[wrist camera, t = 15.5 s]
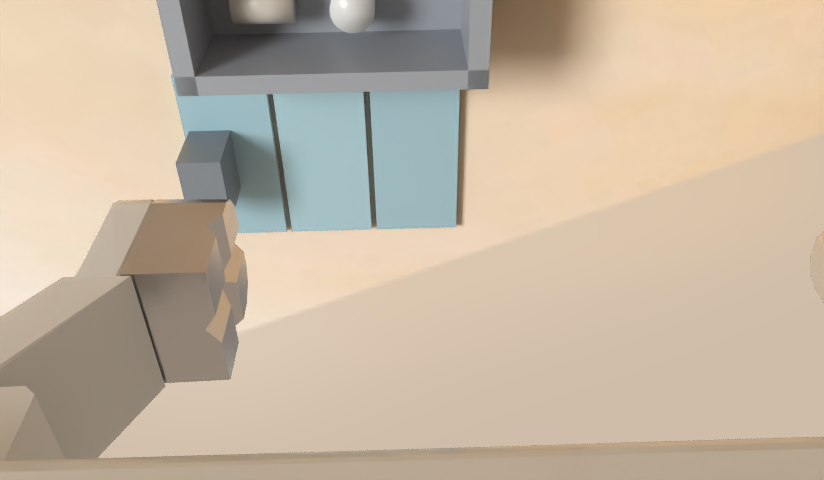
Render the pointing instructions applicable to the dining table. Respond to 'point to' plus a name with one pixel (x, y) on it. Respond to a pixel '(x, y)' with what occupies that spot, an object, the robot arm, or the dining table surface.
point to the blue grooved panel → (324, 158)
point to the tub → (326, 45)
